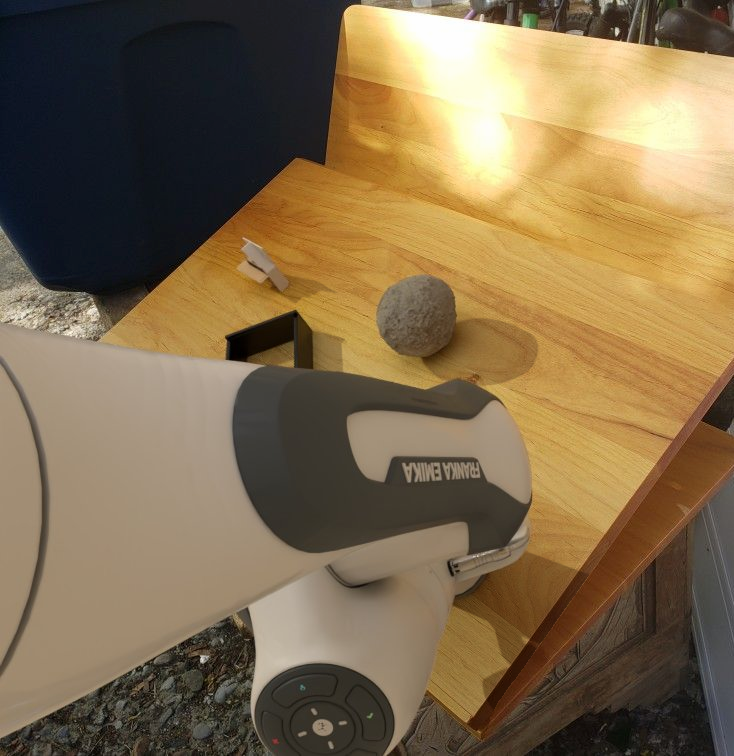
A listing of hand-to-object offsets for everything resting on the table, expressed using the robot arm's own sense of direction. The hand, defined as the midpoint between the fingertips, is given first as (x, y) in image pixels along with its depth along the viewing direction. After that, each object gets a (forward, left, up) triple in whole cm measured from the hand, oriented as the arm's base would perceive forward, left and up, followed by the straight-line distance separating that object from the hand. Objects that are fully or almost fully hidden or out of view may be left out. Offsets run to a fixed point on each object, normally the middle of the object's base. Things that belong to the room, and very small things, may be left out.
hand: (425, 526), depth 63 cm
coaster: (-1, 0, -7) cm, 7 cm away
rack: (+15, +34, -7) cm, 38 cm away
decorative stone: (+25, +15, -8) cm, 30 cm away
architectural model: (+32, +47, -8) cm, 57 cm away
